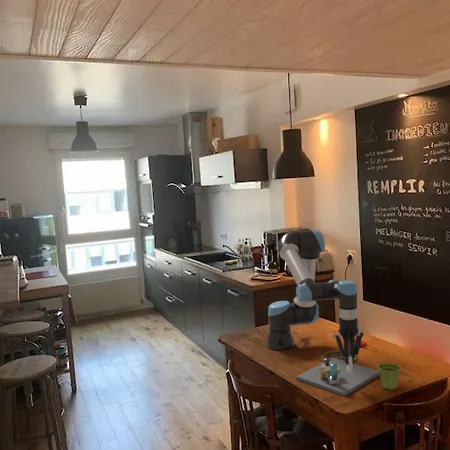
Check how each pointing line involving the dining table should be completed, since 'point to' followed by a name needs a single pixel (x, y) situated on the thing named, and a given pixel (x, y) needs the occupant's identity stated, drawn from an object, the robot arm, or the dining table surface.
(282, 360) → the dining table surface
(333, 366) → the lever
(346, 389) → the base plate
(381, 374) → the plant pot
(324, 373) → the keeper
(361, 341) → the tow hook
